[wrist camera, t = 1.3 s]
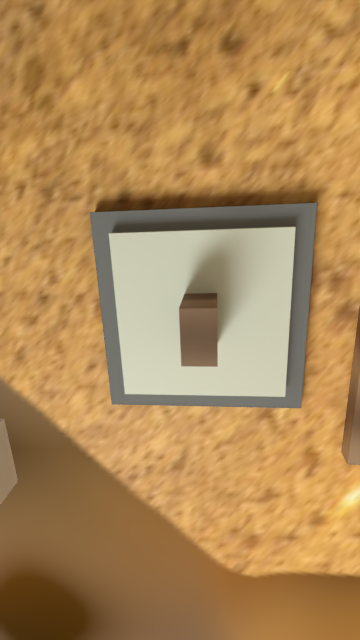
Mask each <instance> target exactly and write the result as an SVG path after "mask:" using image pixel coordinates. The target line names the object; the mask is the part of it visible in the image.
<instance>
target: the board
mask: <svg viewBox="0 0 360 640" xmlns="http://www.w3.org/2000/svg"><path fill="white" fill-rule="evenodd" d="M342 454H343V456H344V458H345V460H346V462H347V464H351V465H360V308H359V316H358V324H357V332H356V340H355V348H354V356H353V364H352V372H351V380H350V388H349V396H348V404H347V412H346V420H345V428H344V436H343V444H342Z"/></svg>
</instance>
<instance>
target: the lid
mask: <svg viewBox="0 0 360 640" xmlns="http://www.w3.org/2000/svg"><path fill="white" fill-rule="evenodd" d="M295 229H296V227H294V226H290V227H262V228H234V229H206V230H177V231H149V232H121V233H109V242H110V252H111V262H112V271H113V281H114V291H115V301H116V311H117V321H118V331H119V341H120V351H121V361H122V371H123V380H124V390H125V394H151V395H209V396H267V397H285V392H286V376H287V359H288V343H289V327H290V310H291V294H292V278H293V261H294V245H295Z"/></svg>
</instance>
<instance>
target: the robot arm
mask: <svg viewBox="0 0 360 640" xmlns="http://www.w3.org/2000/svg"><path fill="white" fill-rule="evenodd" d="M17 481H18V480H17V476H16V471H15V466H14V462H13V457H12V453H11V449H10V444H9V440H8V435H7V431H6V426H5V422H4V419H0V504H1V503H2V502H3V500H4V499H5V498H6V496H7V495H8V494H9V492H10V491H11V489H12V488H13V487H14V485H15V484H16V483H17Z"/></svg>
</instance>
